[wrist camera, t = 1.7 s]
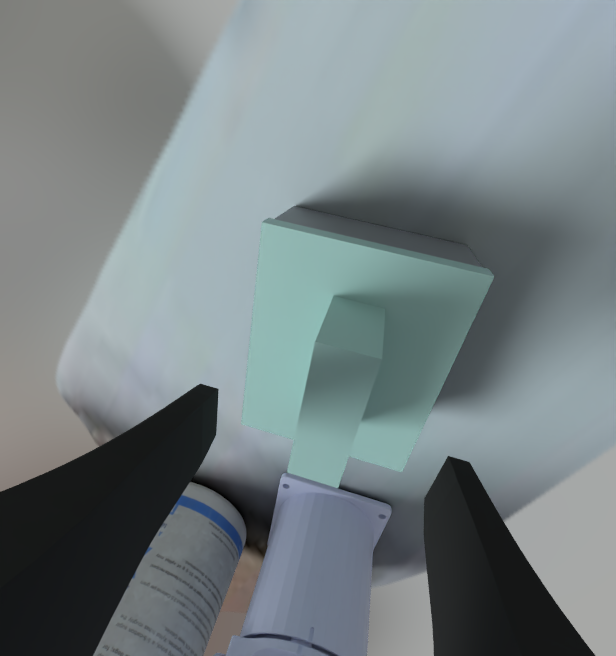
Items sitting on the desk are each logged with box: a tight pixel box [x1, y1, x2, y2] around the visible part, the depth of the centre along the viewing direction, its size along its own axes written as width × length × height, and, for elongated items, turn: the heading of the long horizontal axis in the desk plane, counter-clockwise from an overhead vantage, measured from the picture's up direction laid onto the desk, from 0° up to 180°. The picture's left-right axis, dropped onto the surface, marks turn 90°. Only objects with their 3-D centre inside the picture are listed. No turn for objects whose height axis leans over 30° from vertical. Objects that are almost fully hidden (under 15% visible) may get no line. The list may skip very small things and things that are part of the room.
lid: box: [241, 218, 494, 488], centre depth 14 cm, size 10×8×5 cm
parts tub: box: [275, 206, 483, 268], centre depth 17 cm, size 10×8×4 cm
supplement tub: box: [93, 482, 246, 656], centre depth 24 cm, size 10×10×15 cm
